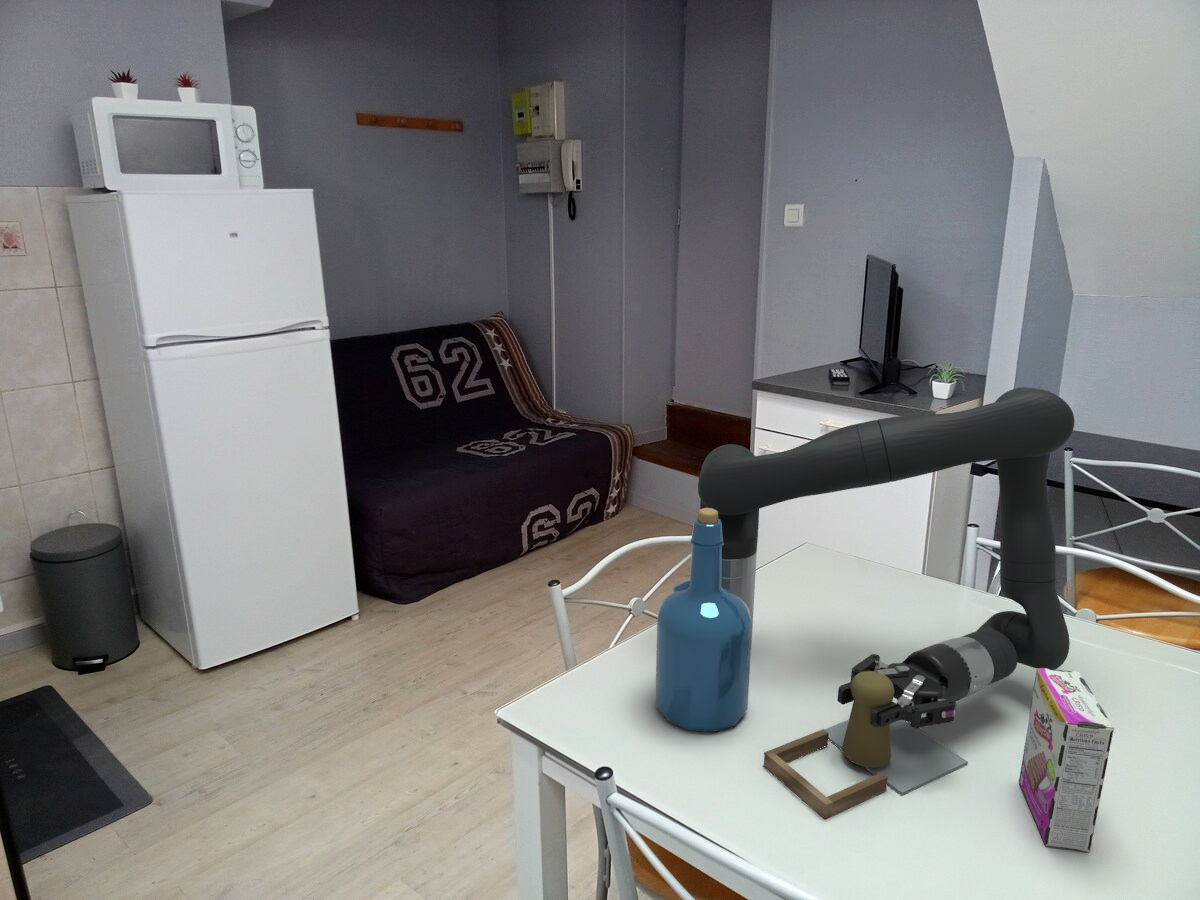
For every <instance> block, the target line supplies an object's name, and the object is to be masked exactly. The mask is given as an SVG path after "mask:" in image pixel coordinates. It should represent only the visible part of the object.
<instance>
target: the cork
mask: <svg viewBox="0 0 1200 900" xmlns="http://www.w3.org/2000/svg"><path fill="white" fill-rule="evenodd" d="M851 692H852V696H853V698H854V701H852V702H853V703H852V707H851V710H850V714H849V717H848V720H849V722H848V726H847V730H846V733H845V737H844V741H843V745H842V750H841V751H842V753H843V755H844V756H845V757H846V758H847V759H848V760H849V761H850V762H851V763H854V764H856V765H858V766H861V767H863V766H864V767H863V768H865V767H871V768H876V767H882V766H884V765H886V764H887V763H888V762H889V761H890V759H891V746H890V726H889V725H886V726H879V727H876V728H875V727H874V726H872V725H871V724H870V715H871V711H872V710H873V709H875V708H878V707H880V706H883V705H886V704H889V703H890V702H892V701H893V699H894V692H895V691H894V686H893V683H892V682H891V680H890V679H889V678H888V677H887V676H885V675H883V674H881V673H878V672H874V671H864V672H860V673H858V674H857V675H856V676H855V677H854V678H853V680H852V683H851Z"/></svg>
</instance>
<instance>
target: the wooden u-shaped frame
mask: <svg viewBox="0 0 1200 900" xmlns="http://www.w3.org/2000/svg"><path fill="white" fill-rule="evenodd" d="M824 729H825V728H822V729H820V730H817V731H815V732H812V733H810V734H807V735H804V736H802V737H799V738H797V739H795V740H792V741H790V742H786V743H784V744H782V745H780V746H777V747H775V748H771V749H768V750H767V751H764V753H763V754H764V755H763V766H764V768H766V769H767V770H768V771H769V770H770V771H771V772H772V773H771V772H770V771H769V772H770V773H771V774H772V775H774V776H775V777H776V778H777V779H778V780H779V781H781V783H783V784H784V785H785V786H786V787H787V788H788V789H790V791H792V792H793V793H794V794H795V795H797V796H798V797H799V798H800V799H801V800H803V802H804V803H806V804H807V805H808V806H809V807H810V808H811V809H813V810H814V811H815V812H816V813H817V814H818V815H819V816H820V817H822V818H823V819H824V820H827V819H829V818H831V817H834V816H835V815H837V814H840V813H842V812H844V811H846V810H849V809H850V808H853V807H855V806H857V805H859V804H861V803H864V802H865V801H867V800H870V799H872V798H874V797H877V796H878V795H880V794H883V793H884V792H887V787H888V785H887V779H888V777H887V776H886V775H884V774H883V773H882V772H881V773H879V774H877V775H873V776H870V777H868V778H866V779H863V780H862V781H859V782H857V783H854V784H852V785H850V786H848V787H846V788H843V789H841V790H838V791H837V792H835V793H832V794H830V795H828V796H826V795H825V794H824V793H823V792H821V791H820V790H819V789H818V788H816V786H814V785H813V784H812V783H810V782H809V781H808V780H807V779H806V778H804V776H802V775H801V774H800V773H798V771H796V770H795V769H794V768H793V767H792V766H790V765H789V764H788V763H790V762H793V761H794V759H795V760H797V759H800V758H802V757H804V756H806V754H807V755H809V754H812V753H814V752H816V751H815V750H817V749H819V750H821V749H823V748H822V747H824V746H826V747H828V746H827V745H829V744H828V743H829V740H828V736H829V733H828V732H827V731H825V730H824ZM820 748H821V749H820ZM824 748H825V747H824ZM813 751H814V752H813ZM817 751H818V750H817ZM811 752H812V753H811ZM808 753H809V754H808ZM801 756H802V757H801ZM799 757H800V758H799ZM796 758H797V759H796ZM789 761H790V762H789Z"/></svg>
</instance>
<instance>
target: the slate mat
mask: <svg viewBox="0 0 1200 900" xmlns="http://www.w3.org/2000/svg"><path fill="white" fill-rule="evenodd" d="M848 722H849V719H847V720H844V721H842V722H840V723H839V722H838V723H837V724H834V725H832V726H830V727H827V728H823V729H824V730H825V731H827V732H828V733H829V736H828V739H829V740H830V741H832V742H833V743H834V744H836V745H837V746H838V747H840V748H841V749H842V745H843V741H844V737H845V733H846V730H847V726H848ZM889 726H890V746H891V759H890V761H889V762H888V763H887V764H886V765H884V766H882V767H876V768H871V767H864V769H866V768H867V769H868V770H869V772H870V771H871V772H870V773H871V774H872V773H873V775H874V774H875V775H877V774H879V773H881V772H882V773H883V774H884V775H886V776H887V777H888V779H887V787H890V788H891V789H892V790H893V791H895V792H896V793H898V794H899V795H900V796H904V795H906V794H908V793H910V792H912V791H915V790H917V789H919V788H921V787H923V786H926V785H927V784H929V783H932V782H933V781H936V780H938V779H939V778H942V777H944V776H946V775H948V774H950V773H952V771H953V772H954V770H955V771H957V770H958V769H962V768H963V767H964V766H968V764H969V762H968V760H967V759H965V758H964V757H961V756H960V755H959V754H957V753H955V752H954V751H952V750H951V749H949V748H948V747H946V746H945V745H943V744H942V743H940V742H939V741H938V740H937V739H934V738H932V736H930V735H929V734H927V733H925V732H923V731H922V730H921V729H920V728H913V727H911V725H910V722H908V721H905V722H899V721H896V722H894V723H891V724H889ZM829 740H828V741H829ZM830 741H829V742H830ZM832 742H831V743H832ZM833 743H832V744H833ZM834 744H833V745H834ZM836 745H835V746H836ZM837 746H836V747H837ZM838 747H837V748H838ZM840 748H839V749H840ZM841 749H840V750H841ZM867 769H866V770H867ZM956 769H957V770H956ZM868 770H867V771H868ZM875 775H874V776H875ZM943 775H944V776H943ZM941 776H942V777H941ZM937 778H938V779H937ZM935 779H936V780H935Z"/></svg>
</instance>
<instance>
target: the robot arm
mask: <svg viewBox="0 0 1200 900" xmlns="http://www.w3.org/2000/svg"><path fill="white" fill-rule="evenodd" d="M1074 428H1075V416H1074V412H1073V410H1072V408H1071V407H1070V405H1069V404H1068V403H1067V402H1066V401H1065V400H1064V399H1063V398H1062V397H1060V396H1059V395H1058V394H1055V393H1054V392H1051V391H1049V390H1046V389H1041V388H1036V387H1035V388H1034V387H1017V388H1016V387H1015V388H1012V389H1010V390H1008V391H1006V392H1004V393H1003V394H1001V395H1000V396H999V397H998V398H997V399H996V400H995V401H994V402H992V403H987V404H984V405H980V406H978V407H977V406H976V407H974V408H970V409H964V410H961V411H955V412H946V413H945V412H944V413H930V414H929V413H927V414H926V413H924V414H911V415H900V416H899V415H898V416H892V417H884V418H878V419H874V420H869V421H864V422H859V423H853V424H850V425H847V426H843V427H840V428H837V429H834V430H831V431H829V432H826V433H824V434H822V435H820V436H818V437H816V438H814V439H812V440H809V441H808V442H806V443H803V444H801V445H798V446H796V447H793V448H791V449H788V450H784V451H779V452H774V453H767V454H761V455H755V454H754V453H753V452H752V451H751V450H750V449H748V448H747V447H745V446H743V445H739V444H733V443H731V444H730V443H728V444H723V445H720V446H718V447H716V448H714V449H713V450H711V451H710V453H708V454H707V455H706V457H705V459H704V461H703V462H702V466H701V469H700V471H699V477H698V482H697V493H698V496H699V499H700V504H699V505H700V506H699V510H700V509H703V508H713V509H715V510H717V511H718V519H720V520H721V522H722V535H723V542H724V545H723V546H722V566H721V586H722V587H723V588H725V589H728V590H729V591H731V592H733V593H734V594H735V595H737V596H738V597H739V598H741V599H742V600H743V601H744V602H745V603H746V605H747V606H748V609H749V611H750V615H751V622H752V628H753V623H754V607H755V606H754V605H755V589H756V574H757V573H756V572H757V555H758V554H757V550H758V541H759V540H758V538H759V523H760V522H759V521H760V519H759V518H760V509H763V508H766V507H769V506H773V505H776V504H780V503H784V502H786V501H790V500H794V499H799V498H805V497H811V496H816V495H822V494H823V495H824V494H829V493H837V492H842V491H847V490H852V489H858V488H859V489H860V488H866V487H872V486H878V485H883V484H888V483H889V484H890V483H893V482H897V481H901V480H907V479H911V478H915V477H919V476H924V475H928V474H932V473H935V472H938V471H939V472H940V471H943V470H946V469H951V468H954V467H958V466H962V465H968V464H973V463H979V462H980V463H981V462H986V461H988V462H990V461H996V466H997V473H998V474H997V476H998V484H999V500H1000V505H999V507H1000V508H999V509H1000V510H999V512H1000V524H999V525H1000V531H999V533H1000V534H999V535H1000V538H999V582H1000V583H999V586H1000V589H1001V592H1002V594H1003V595H1004V596H1005V597H1007V598H1008V599H1009V600H1012V601H1014V602H1015V603H1016V604H1019V605H1020V606H1021V607H1022V608H1023V609H1024V612H1025V613H1023V612H1019V611H1014V610H1004V611H999V612H996V613H994V614H993V615H991V617H989V618H988V619H987V620H986V621H985V622H984V623H983V624H981V626H979V628H978V629H976V631H973V632H971V633H968V634H965V635H963V636H959V637H956V638H949V639H946V640H943V641H939V642H938V643H935V644H932V645H929V646H927V647H924V648H922V649H919V650H915V651H914V652H912V653H910V654H909V655H908V656H907V657H906V658H905V659H903V661H902V662H896V663H894V662H893V663H890V664H886V663H885V662H883V661H880V660H881V657H880V654H879V655H878V654H876V653H872V654H870V655H869V656H867V657H866V658H864V659H863V660H861V661H860V662H859V663H857V664H856V665H854V666H852V668H851V674H850V681H849V682H847V683H844V684H841V685H840V686H838V689H837V702H838V703H840V705H846V704H848V703H851V702H854V698H853V696H852V692H851V683H852V680H853V678H854V677H855V676H856V675H857V674H858V673H860V672H864V671H874V672H878V673H881V674H883V675H885V676H887V677H888V678H889V679H890V680H891V682H892V683H893V686H894V691H895V692H894V697H893V699H896V702H894V701H893V700H892V702H890V703H889V704H886V705H883V706H880V707H878V708H875V709H873V710H872V711H871V715H870V724H871V725H872V726H874V727H875V728H876V727H879V726H886V725H889V724H891V723H894V722H896V721H899V722H905V721H907V722H909V723H910V725H911V727H913V728H918V729H921V728H926V727H931V726H936V725H942V724H947V723H953V722H954V721H955V716H956V710H957V709H956V706H957V701H960V700H961V699H964V698H967V697H970V696H971V695H974V694H976V693H978V692H979V691H981V690H982V689H983V688H985V687H987V686H990V685H992V684H995V683H997V682H999V681H1001V680H1003V679H1006V678H1008V677H1010V675H1011V674H1013V673H1014V672H1015V670H1016V668H1017V666H1018V664H1022V665H1025V666H1028V667H1030V668H1033V669H1035V670H1036V669H1037V668H1048V669H1051V670H1054V669H1055V670H1058V669H1059V668H1060V667H1061V666H1062V665H1064V664H1065V662H1066V660H1067V658H1068V656H1069V653H1070V644H1071V643H1070V642H1071V641H1070V635H1069V630H1068V629H1069V628H1068V625H1067V623H1066V619H1065V616H1064V613H1063V609H1062V606H1061V602H1060V599H1059V596H1058V591H1057V588H1056V587H1057V586H1056V584H1057V583H1056V581H1057V580H1056V575H1057V574H1056V573H1057V572H1056V571H1057V567H1056V565H1057V562H1056V561H1057V551H1056V537H1055V531H1054V524H1053V518H1052V514H1051V509H1050V503H1049V493H1048V481H1047V479H1048V478H1047V475H1048V473H1047V471H1048V460H1049V454H1050V453H1053V452H1055V451H1056V450H1059V448H1061V447H1062V446H1064V444H1065V443H1066V442H1067V441H1068V440H1069V438H1070V437H1071V435H1072V433H1073V431H1074ZM752 640H753V638H752V639H751V645H752V644H753V643H752ZM923 714H924V715H925V714H926V715H925V716H923Z"/></svg>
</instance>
